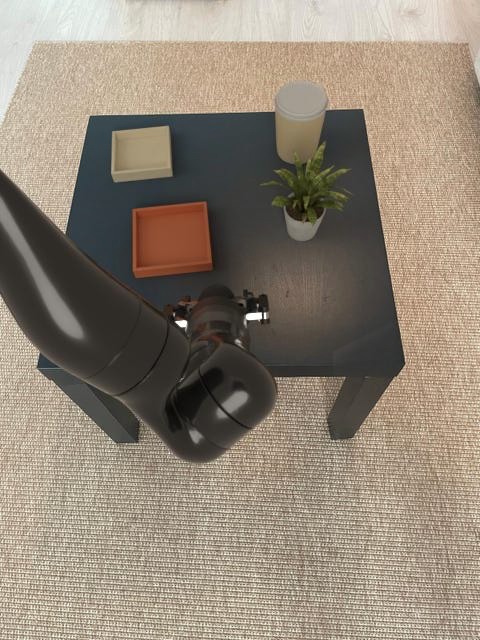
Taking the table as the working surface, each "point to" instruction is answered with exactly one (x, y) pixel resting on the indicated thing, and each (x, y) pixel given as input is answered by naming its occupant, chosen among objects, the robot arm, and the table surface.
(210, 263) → the terracotta tray
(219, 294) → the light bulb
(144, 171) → the cream tray
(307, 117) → the coffee cup
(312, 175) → the house plant
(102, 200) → the table surface
